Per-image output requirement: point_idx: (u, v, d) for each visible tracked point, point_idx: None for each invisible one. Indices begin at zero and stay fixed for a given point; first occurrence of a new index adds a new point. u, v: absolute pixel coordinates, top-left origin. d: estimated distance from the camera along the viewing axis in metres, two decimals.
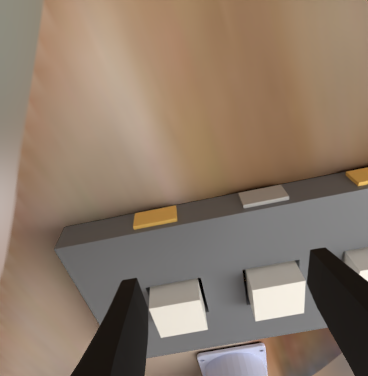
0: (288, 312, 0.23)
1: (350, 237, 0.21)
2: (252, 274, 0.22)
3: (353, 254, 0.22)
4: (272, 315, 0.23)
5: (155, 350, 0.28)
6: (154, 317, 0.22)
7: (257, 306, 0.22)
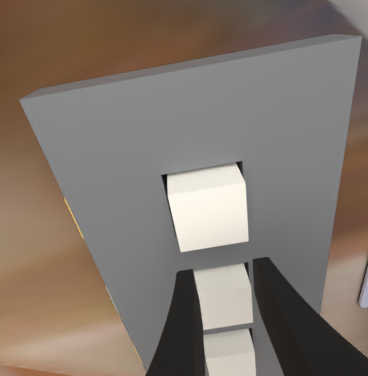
0: (245, 299, 0.19)
1: (153, 234, 0.18)
2: None
3: None
4: (246, 311, 0.20)
5: None
6: None
7: (226, 324, 0.20)
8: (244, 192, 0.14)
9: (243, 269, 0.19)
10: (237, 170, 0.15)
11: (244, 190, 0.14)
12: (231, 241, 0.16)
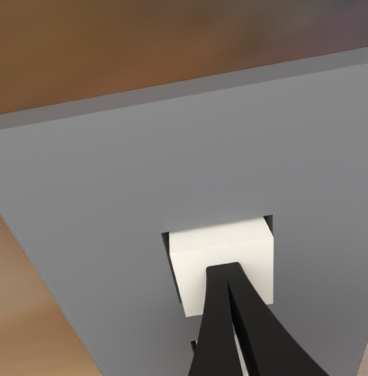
0: None
1: (150, 301, 0.14)
2: None
3: None
4: None
5: None
6: None
7: None
8: (271, 249, 0.11)
9: None
10: None
11: (271, 246, 0.11)
12: None
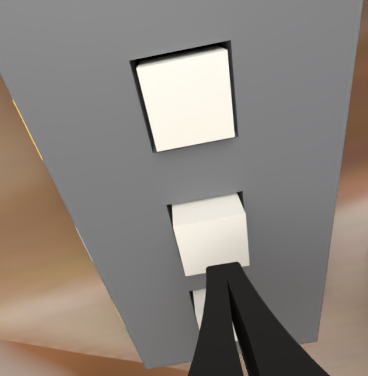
0: (239, 233, 0.16)
1: (125, 151, 0.15)
2: None
3: None
4: (241, 249, 0.16)
5: (306, 319, 0.24)
6: None
7: None
8: (226, 64, 0.12)
9: (236, 199, 0.16)
10: (219, 47, 0.13)
11: (226, 61, 0.12)
12: (215, 137, 0.14)
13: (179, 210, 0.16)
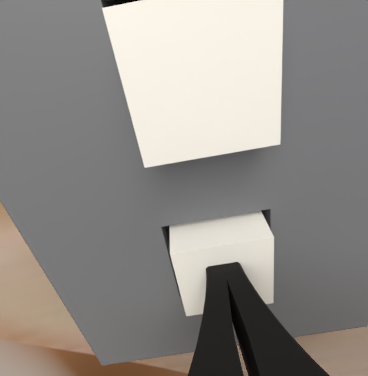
0: (263, 41, 0.07)
1: None
2: None
3: None
4: (265, 97, 0.07)
5: (356, 288, 0.14)
6: None
7: (212, 147, 0.08)
8: None
9: None
10: None
11: None
12: None
13: None
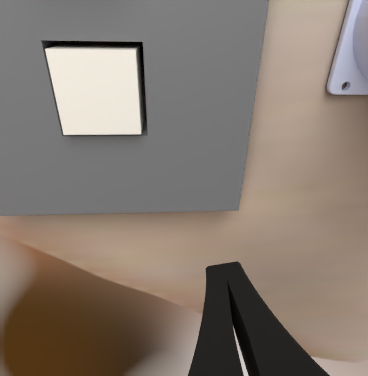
0: None
1: None
2: None
3: None
4: None
5: (225, 159, 0.16)
6: (85, 131, 0.14)
7: None
8: None
9: None
10: None
11: None
12: None
13: None
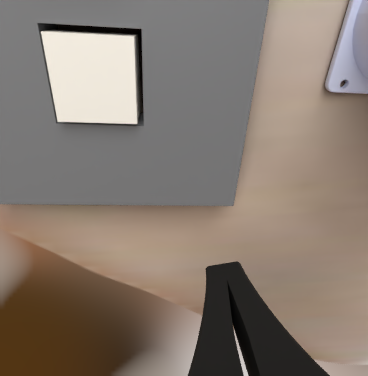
0: None
1: None
2: None
3: None
4: None
5: (222, 153, 0.16)
6: (80, 119, 0.14)
7: None
8: None
9: None
10: None
11: None
12: None
13: None
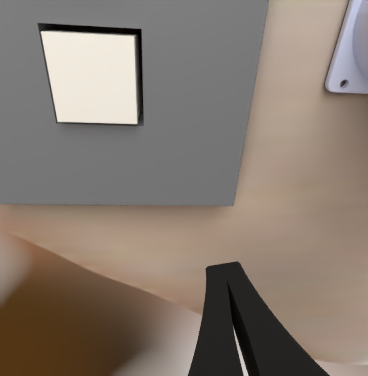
0: None
1: None
2: None
3: None
4: None
5: (222, 153, 0.16)
6: (80, 119, 0.14)
7: None
8: None
9: None
10: None
11: None
12: None
13: None
